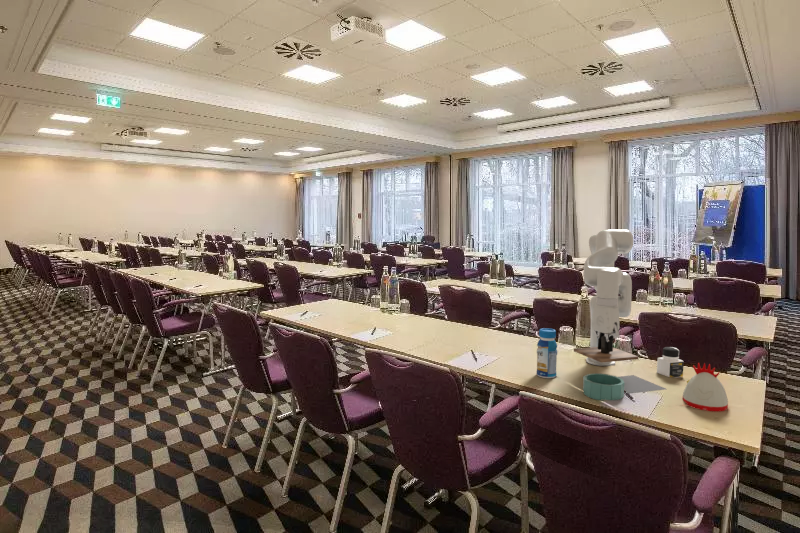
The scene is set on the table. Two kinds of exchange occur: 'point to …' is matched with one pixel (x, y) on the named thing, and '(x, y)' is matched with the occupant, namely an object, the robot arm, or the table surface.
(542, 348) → the beverage bottle
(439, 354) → the table surface
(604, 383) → the bowl
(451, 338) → the table surface
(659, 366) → the medicine bottle
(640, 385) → the mat
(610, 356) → the lid
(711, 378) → the kitchen timer
